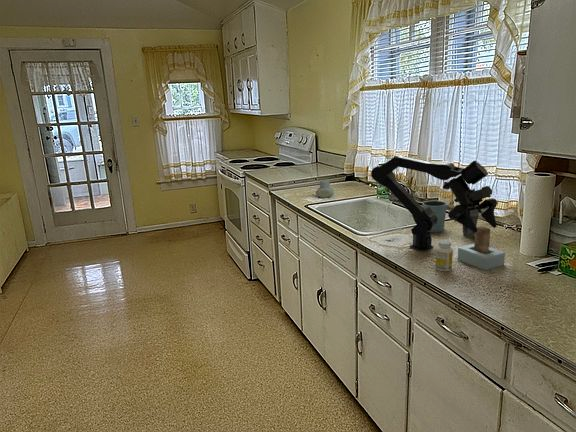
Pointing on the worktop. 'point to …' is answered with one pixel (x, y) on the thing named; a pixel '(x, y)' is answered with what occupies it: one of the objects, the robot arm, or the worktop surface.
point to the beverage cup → (474, 217)
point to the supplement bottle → (444, 256)
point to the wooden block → (482, 240)
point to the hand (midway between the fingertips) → (486, 229)
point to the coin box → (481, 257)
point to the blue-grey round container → (437, 213)
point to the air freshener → (324, 189)
